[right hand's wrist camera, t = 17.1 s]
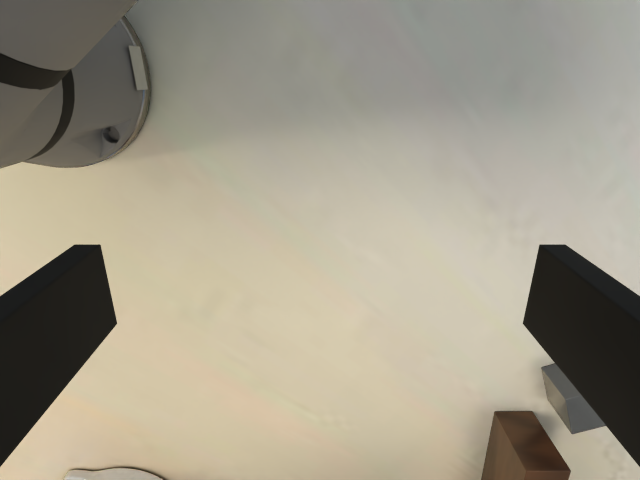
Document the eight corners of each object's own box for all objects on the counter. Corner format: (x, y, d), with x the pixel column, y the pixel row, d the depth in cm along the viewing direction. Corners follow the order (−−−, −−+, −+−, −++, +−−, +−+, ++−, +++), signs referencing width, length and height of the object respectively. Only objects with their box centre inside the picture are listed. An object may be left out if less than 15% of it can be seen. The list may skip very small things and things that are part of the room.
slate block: (547, 400, 48) (572, 434, 44) (541, 367, 47) (565, 399, 42) (591, 388, 48) (621, 422, 43) (586, 354, 46) (616, 386, 41)
